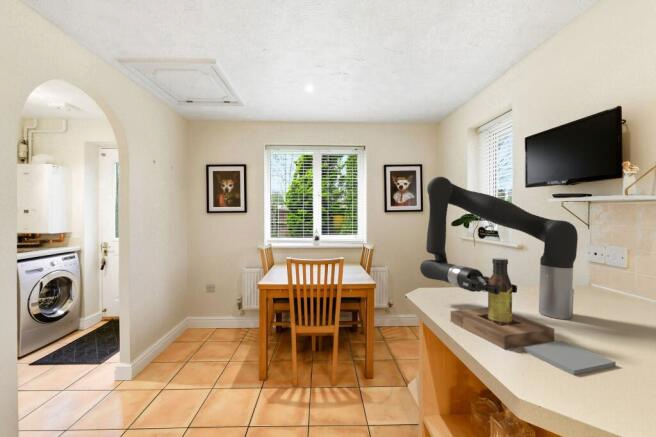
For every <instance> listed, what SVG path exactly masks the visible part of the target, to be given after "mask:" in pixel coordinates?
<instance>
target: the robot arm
mask: <svg viewBox="0 0 656 437" xmlns="http://www.w3.org/2000/svg"><path fill="white" fill-rule="evenodd" d="M426 188H427V189H426V191H427V194H428V201H429V202H428V203H429V216H428V217H429V218H428V219H429V220H428V224H427V225H428V226H427V232H426V233H427V234H426V246H425V247H426V248H425V249H426V252H427V253H429V254H431V255H434V259H426V260H423V261H422V262H421V263H420V266H419V269H420V273H421V275H422V276H423V277H424V278H427V279H430V280H436V281H440V282H445V283H448V284H450V285H453V286H455V287H456V288H457V287H458V288H460V289H462V290H466V291H469V292H474V293H475V292H478V293H479V292H484V293H488V292H490V293H493V294H496V295H497V294H499V287H497V286H494V285H490V284H489V279H490V277H491V276H487V275H484V274H483V273H482V272H481V270H479V269H476V268H473V267H468V266H465V265H457V264H453V263H448V258H447V252H446V241H447V214H448V206H449V205H452V206H455V207H458V208H460V209H462V210H464V211H466V212H467V213H470V214H471V215H474V216H475V217H478V218H480V219H482V220H485V221H487V222H489V223H493V224H495V225H498V226H501V227H504V228H508V229H512V230H516V231H519V232H522V233H525V234H527V235H528V236H530V237H533V238H535V239H537V240H538V241H541V242H543V243H544V248H543V253H542V255H541V256H540V259H539V260H540V261H539V262H540V263H539V288H538V290H539V293H538V314H541V315H543V316H545V317H549V318H555V319H561V320H562V319H564V320H569V319H572V317H573V316H574V298H575V296H574V294H575V293H574V292H575V290H574V288H573V283H574V282H573V280H574V263H575V262H576V258H577V253H578V252H577V251H578V238H579V237H578V230H577V228H576V227H575V225H574V224H572V223H571V222H569V221H566V220H561V219H560V220H559V219H558V220H557V219H550V218H547V217H543V216H539V215H538V214H534V213H530V212H529V211H527V210H524V209H523V208H521V207H520V206H518V205H516V204H514V203H513V202H510V201H508V200H505V199H502V198H499V197H496V196H493V195H490V194H487V193H482V192H478V191H474V190H473V191H472V190H469V189H465V188H464V187H461V186H458V185H457V184H454V183H452V182H451V180H450V179H448V178H446V177H445V176H436V177H434V178H432V179H431V180H430V181H429V183H428V184H427V187H426ZM511 285H512V294H513V293H514V294H516V293H517V292H518V286H517V285H516V284H512V283H511Z"/></svg>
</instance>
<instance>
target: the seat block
mask: <svg viewBox="0 0 656 437" xmlns="http://www.w3.org/2000/svg"><path fill="white" fill-rule="evenodd" d="M449 322H450V323H452V322H453V323H452V324H454V325H456V326H458V327H460V328H462V329H464V330H466V331H467V332H469V333H472V334H474V335H476V336H477V337H480V338H481V339H484V340H485V341H488V342H490V343H491V344H493V345H496V346H497V347H499V348H501V349H503V350H506V349H513V348H519V347H520V348H521V347H525V346H531V345H537V344H544V343H550V342H555V328H553V327H551V326H549V325H546V324H543V323H540V322H537V321H534V320H533V319H529V318H526V317H524V316H520V315H519V314H515V313H513V312H512V321H511V325H505V326H500V325H498V324H495V323H493V322H491V321H489V318H488V306H487V307H477V308H468V309H467V308H466V309H456V310H450V321H449Z"/></svg>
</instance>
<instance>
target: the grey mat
mask: <svg viewBox="0 0 656 437" xmlns="http://www.w3.org/2000/svg"><path fill="white" fill-rule="evenodd" d="M522 351H523V352H525V353H527V354H528V355H531V356H533V357H535V358H538V359H539V360H541V361H543V362H546V363H548V364H550V365H551V366H554V367H556V368H558V369H560V370H561V371H564V372H567V373H568V374H571V375H572V376H575V375H580V374H586V373H590V372H594V371H599V370H603V369H609V368H613V366H614V367H616V365H617V364H616V363H617V362H616V361H614V360H612V359H610V358H607V357H604V356H602V355H599V354H597V353H595V352H592V351H589V350H586V349H585V348H584V349H583V348H581V347H579V346H577V345H573V344H572V343H569V342H566V341H564V340H555V341H552V342H546V343H539V344H533V345H527V346H522Z"/></svg>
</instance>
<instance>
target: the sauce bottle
mask: <svg viewBox="0 0 656 437" xmlns="http://www.w3.org/2000/svg"><path fill="white" fill-rule="evenodd" d="M508 264H509V259H508V258H503V257H493V258H492V274H491V276H489V277H490V279H489V284H490V285H494V286H497V287H499V294H497V295H496V294H493V293H490V292H487V307H488V318H489V321H491V322H493V323H495V324H498V325H500V326H505V325H511V321H512V313H513V292H512V285H511V284H512V282H511V279H510V276H509V273H508Z"/></svg>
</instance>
